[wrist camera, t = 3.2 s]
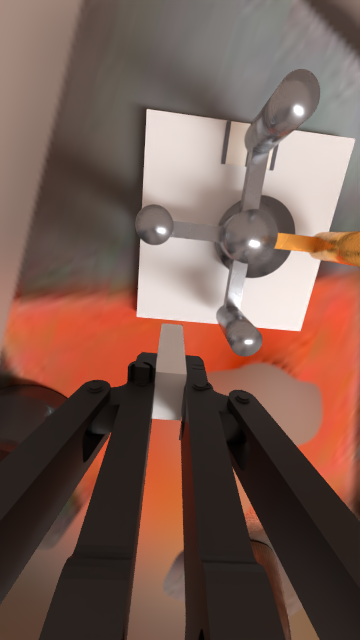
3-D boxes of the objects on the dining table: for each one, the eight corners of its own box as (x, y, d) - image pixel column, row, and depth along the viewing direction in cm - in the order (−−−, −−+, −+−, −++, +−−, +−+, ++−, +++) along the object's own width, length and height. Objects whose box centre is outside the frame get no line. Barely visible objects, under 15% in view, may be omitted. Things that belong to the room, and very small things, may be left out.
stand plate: (138, 312, 30) (136, 317, 28) (148, 116, 24) (146, 107, 22) (294, 326, 31) (301, 331, 30) (345, 144, 25) (357, 138, 23)
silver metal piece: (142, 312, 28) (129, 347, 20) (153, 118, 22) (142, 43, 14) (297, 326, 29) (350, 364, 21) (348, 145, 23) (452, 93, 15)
